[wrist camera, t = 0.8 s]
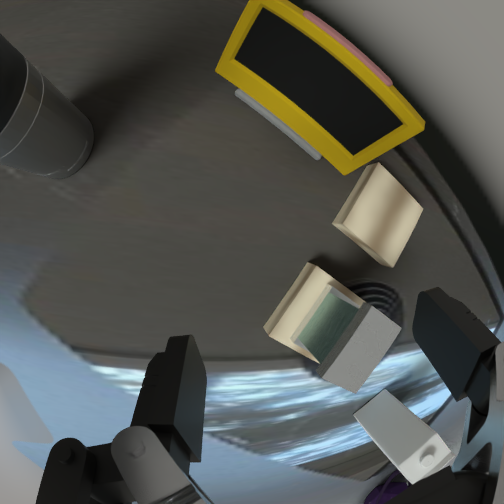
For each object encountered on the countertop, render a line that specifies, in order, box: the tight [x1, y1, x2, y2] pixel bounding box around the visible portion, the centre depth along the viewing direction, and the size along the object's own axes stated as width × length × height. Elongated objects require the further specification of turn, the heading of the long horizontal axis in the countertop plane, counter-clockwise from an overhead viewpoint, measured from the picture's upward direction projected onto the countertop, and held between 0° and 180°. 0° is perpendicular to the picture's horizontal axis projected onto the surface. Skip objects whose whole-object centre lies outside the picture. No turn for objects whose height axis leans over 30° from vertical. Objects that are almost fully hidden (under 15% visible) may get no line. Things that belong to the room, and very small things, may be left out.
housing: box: [290, 284, 401, 394], centre depth 29 cm, size 5×8×10 cm, turn 146°
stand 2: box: [332, 162, 423, 268], centre depth 36 cm, size 10×10×3 cm
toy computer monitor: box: [215, 0, 425, 175], centre depth 26 cm, size 20×8×16 cm, turn 52°
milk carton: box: [353, 389, 455, 485], centre depth 33 cm, size 7×7×19 cm
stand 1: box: [263, 262, 365, 363], centre depth 36 cm, size 10×10×3 cm
